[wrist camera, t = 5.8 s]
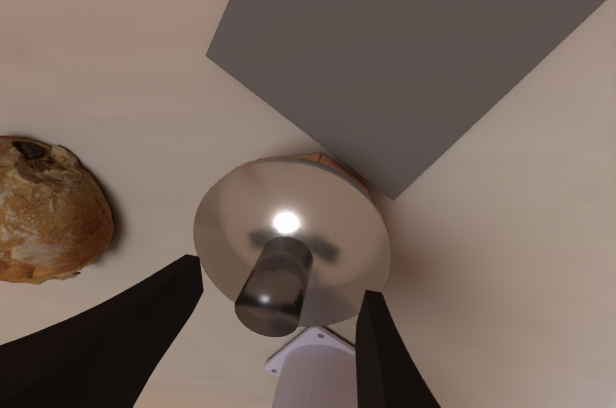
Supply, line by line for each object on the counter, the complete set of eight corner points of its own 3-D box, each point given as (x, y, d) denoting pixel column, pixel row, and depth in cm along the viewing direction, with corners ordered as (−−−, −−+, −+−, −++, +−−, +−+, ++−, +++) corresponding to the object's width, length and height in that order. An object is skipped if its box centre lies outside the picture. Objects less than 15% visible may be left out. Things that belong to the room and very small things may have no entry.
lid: (434, 247, 12) (466, 325, 8) (307, 337, 16) (293, 413, 13) (265, 107, 10) (217, 131, 7) (174, 247, 15) (115, 306, 11)
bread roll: (156, 173, 22) (68, 166, 14) (115, 288, 22) (7, 345, 14) (40, 127, 22) (-118, 92, 14) (2, 244, 22) (-170, 277, 14)
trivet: (631, -34, 10) (646, -38, 9) (392, 195, 15) (393, 200, 15) (378, -322, 8) (379, -349, 7) (211, 56, 14) (205, 55, 13)
